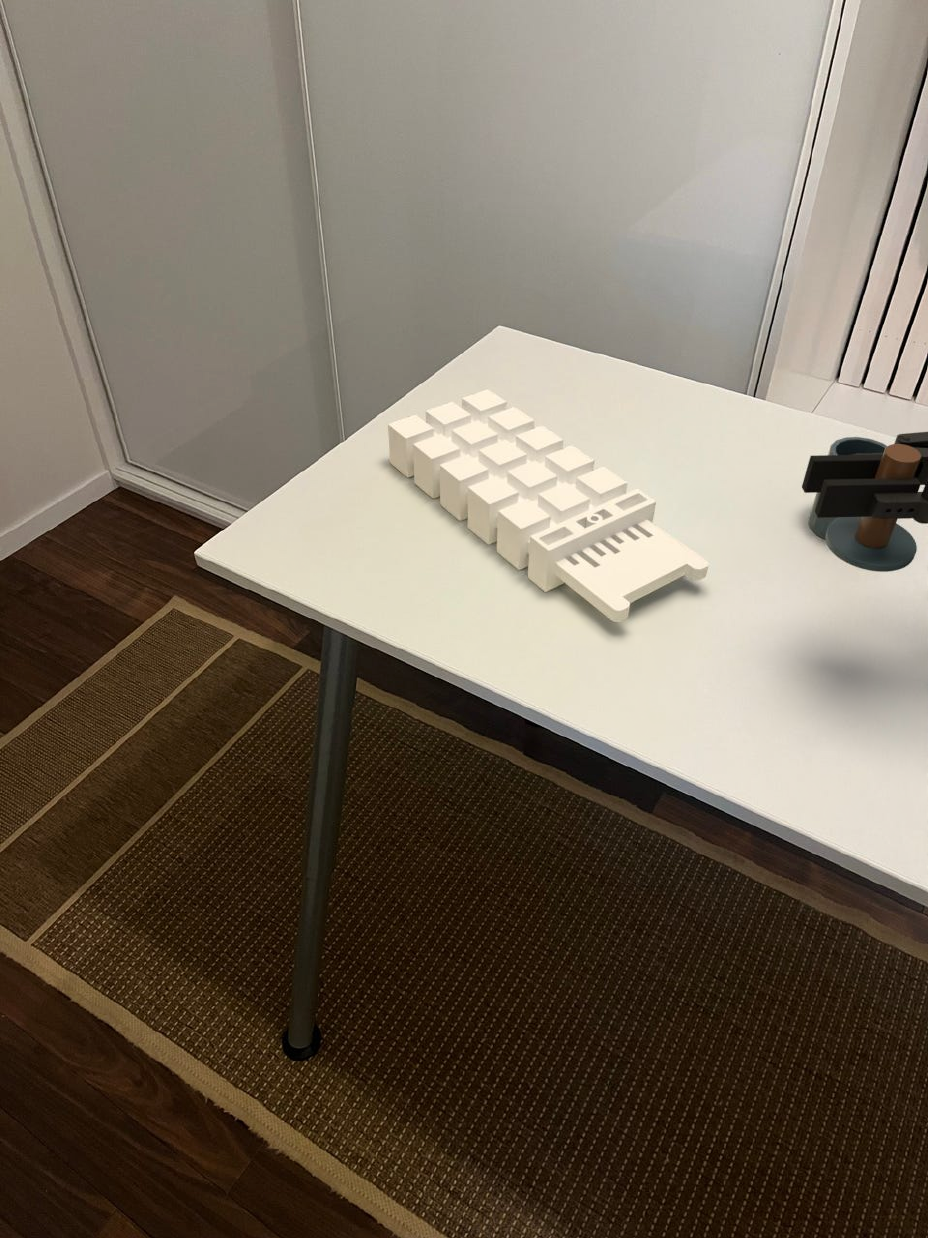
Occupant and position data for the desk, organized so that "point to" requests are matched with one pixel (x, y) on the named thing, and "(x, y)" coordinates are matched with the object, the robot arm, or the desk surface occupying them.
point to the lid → (877, 524)
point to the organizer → (541, 502)
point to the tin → (842, 448)
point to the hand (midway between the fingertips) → (814, 486)
